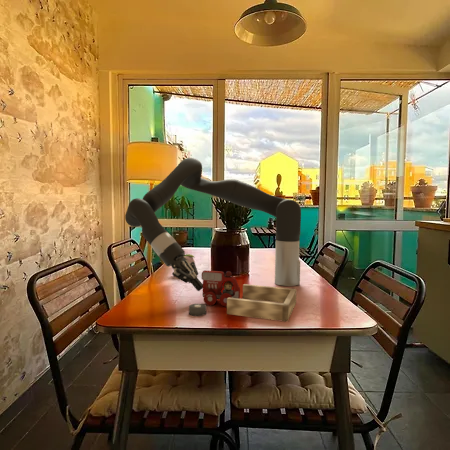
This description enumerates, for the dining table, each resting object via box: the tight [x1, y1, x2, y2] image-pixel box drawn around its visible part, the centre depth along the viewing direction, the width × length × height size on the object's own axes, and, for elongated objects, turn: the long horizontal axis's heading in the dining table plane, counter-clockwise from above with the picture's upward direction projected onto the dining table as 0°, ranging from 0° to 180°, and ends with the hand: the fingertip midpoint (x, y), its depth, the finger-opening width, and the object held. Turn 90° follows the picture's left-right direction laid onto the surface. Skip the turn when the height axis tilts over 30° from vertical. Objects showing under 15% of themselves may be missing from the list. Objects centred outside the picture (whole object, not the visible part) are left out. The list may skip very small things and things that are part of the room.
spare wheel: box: [188, 303, 207, 317], centre depth 97 cm, size 5×5×2 cm
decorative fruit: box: [184, 253, 196, 264], centre depth 147 cm, size 9×8×10 cm
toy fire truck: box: [201, 269, 241, 308], centre depth 107 cm, size 7×12×10 cm, turn 79°
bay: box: [226, 283, 297, 322], centre depth 102 cm, size 18×18×4 cm
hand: (201, 289), depth 108 cm, fingers closed
